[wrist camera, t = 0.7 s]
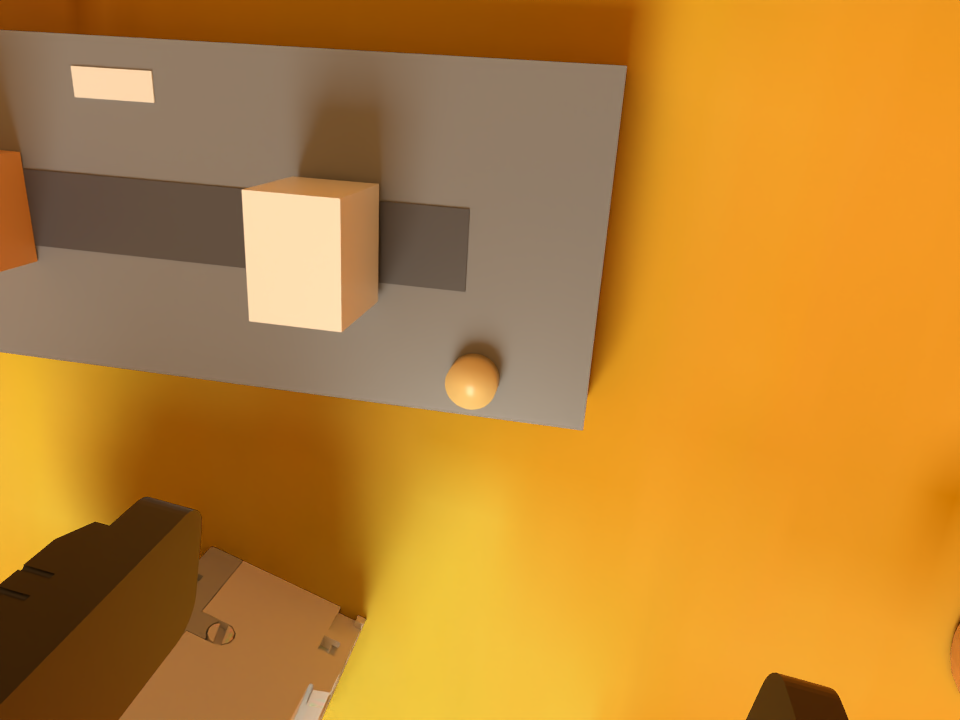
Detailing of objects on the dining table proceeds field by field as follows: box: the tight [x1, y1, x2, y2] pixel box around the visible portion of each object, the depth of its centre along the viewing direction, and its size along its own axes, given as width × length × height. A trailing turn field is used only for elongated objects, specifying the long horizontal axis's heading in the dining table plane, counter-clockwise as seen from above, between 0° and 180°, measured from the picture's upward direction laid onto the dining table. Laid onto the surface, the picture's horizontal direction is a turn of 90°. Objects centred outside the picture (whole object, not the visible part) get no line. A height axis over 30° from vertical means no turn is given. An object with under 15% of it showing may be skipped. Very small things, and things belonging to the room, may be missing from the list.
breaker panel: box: [0, 30, 627, 430], centre depth 27 cm, size 26×12×4 cm, turn 87°
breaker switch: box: [242, 176, 379, 332], centre depth 23 cm, size 3×4×4 cm
